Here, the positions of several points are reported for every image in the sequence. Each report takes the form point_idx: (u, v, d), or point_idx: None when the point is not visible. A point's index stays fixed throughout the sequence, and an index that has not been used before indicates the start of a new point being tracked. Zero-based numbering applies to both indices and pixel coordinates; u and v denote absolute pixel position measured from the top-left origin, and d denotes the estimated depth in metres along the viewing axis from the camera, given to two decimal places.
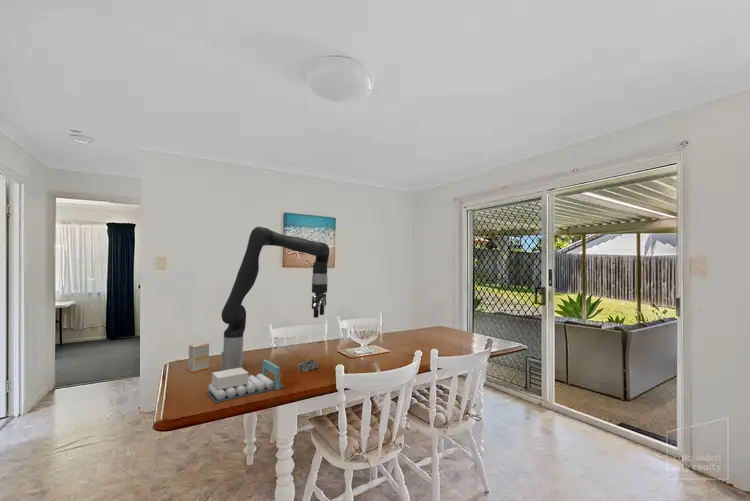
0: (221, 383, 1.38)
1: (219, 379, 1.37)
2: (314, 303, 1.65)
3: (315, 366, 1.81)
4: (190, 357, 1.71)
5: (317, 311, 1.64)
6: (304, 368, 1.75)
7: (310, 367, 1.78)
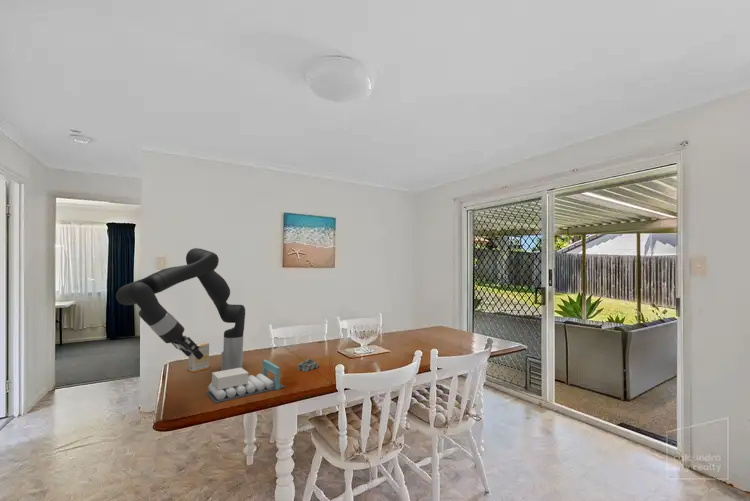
0: (221, 383, 1.38)
1: (219, 379, 1.37)
2: None
3: (314, 366, 1.81)
4: (190, 357, 1.71)
5: None
6: (304, 368, 1.76)
7: (310, 367, 1.78)
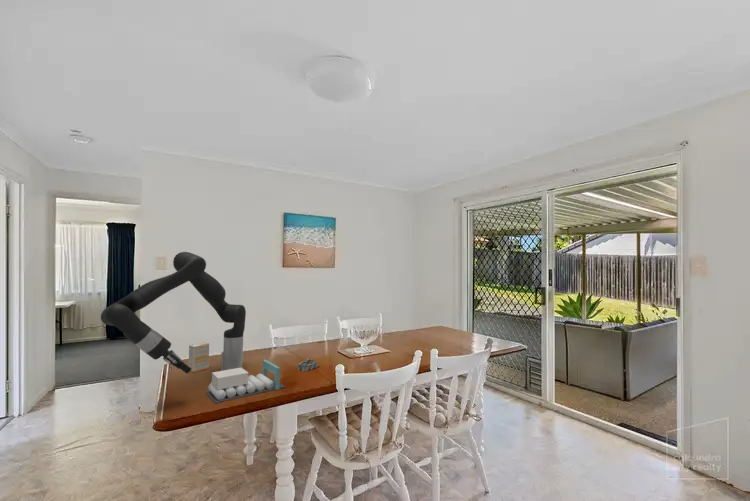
0: (221, 383, 1.38)
1: (219, 379, 1.37)
2: (177, 357, 1.34)
3: (314, 366, 1.82)
4: (190, 357, 1.71)
5: None
6: (304, 368, 1.76)
7: (309, 367, 1.79)
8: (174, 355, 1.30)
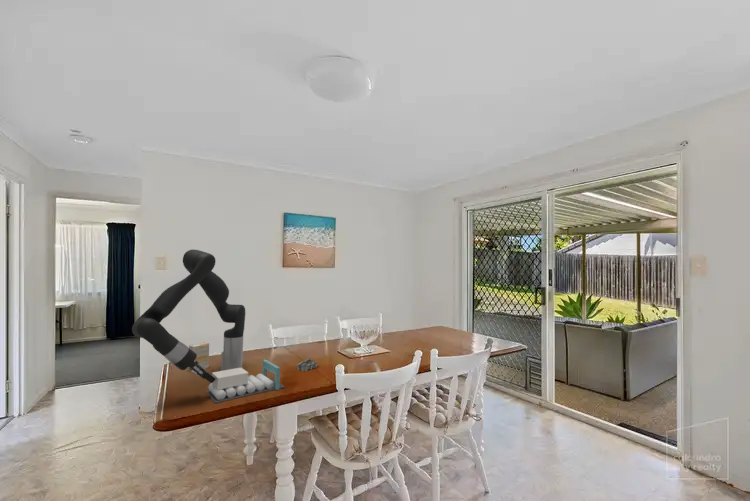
0: (221, 383, 1.38)
1: (219, 379, 1.37)
2: None
3: (314, 365, 1.82)
4: None
5: None
6: (303, 368, 1.76)
7: (309, 366, 1.79)
8: (200, 366, 1.35)
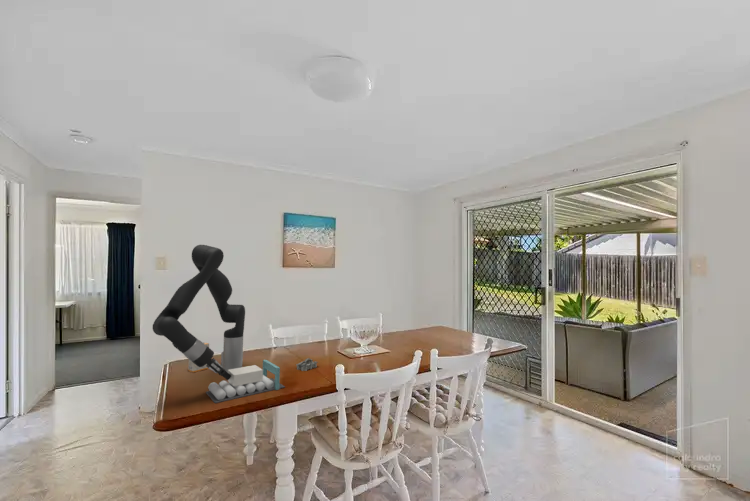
0: (237, 380, 1.42)
1: (235, 376, 1.41)
2: None
3: (314, 365, 1.82)
4: None
5: None
6: (303, 368, 1.76)
7: (309, 366, 1.79)
8: (216, 363, 1.39)
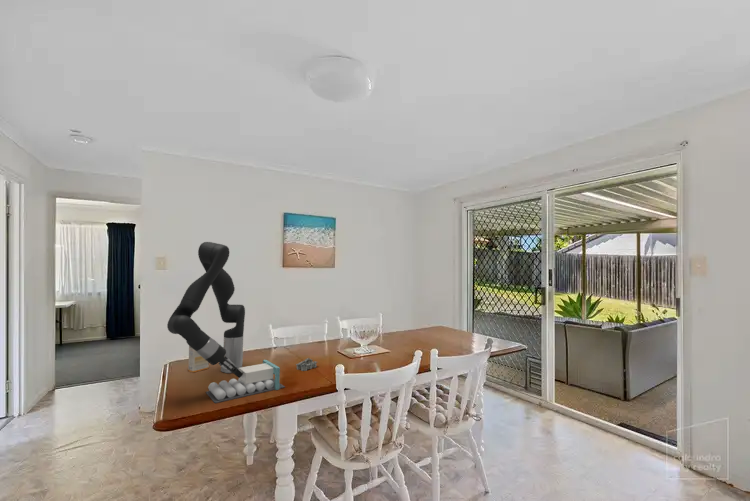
0: (249, 378, 1.45)
1: (247, 374, 1.44)
2: None
3: (313, 365, 1.82)
4: (190, 357, 1.71)
5: None
6: (303, 367, 1.76)
7: (308, 366, 1.79)
8: (229, 361, 1.42)
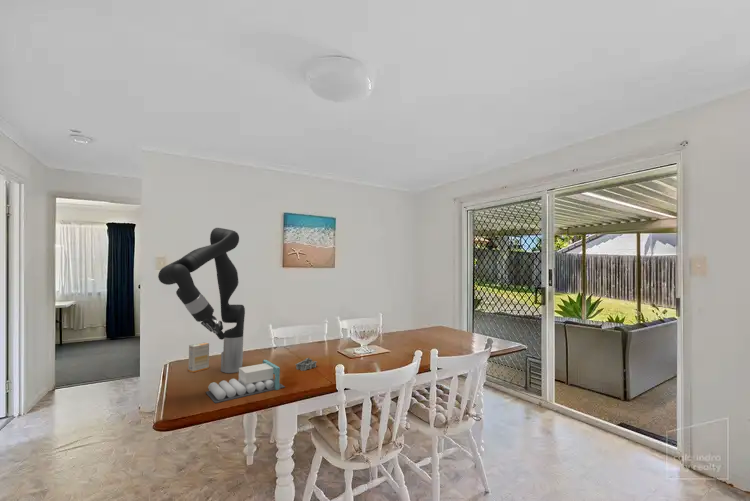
0: (249, 378, 1.45)
1: (247, 374, 1.44)
2: None
3: (313, 365, 1.82)
4: (190, 357, 1.71)
5: None
6: (302, 367, 1.77)
7: (308, 366, 1.80)
8: (215, 320, 1.40)
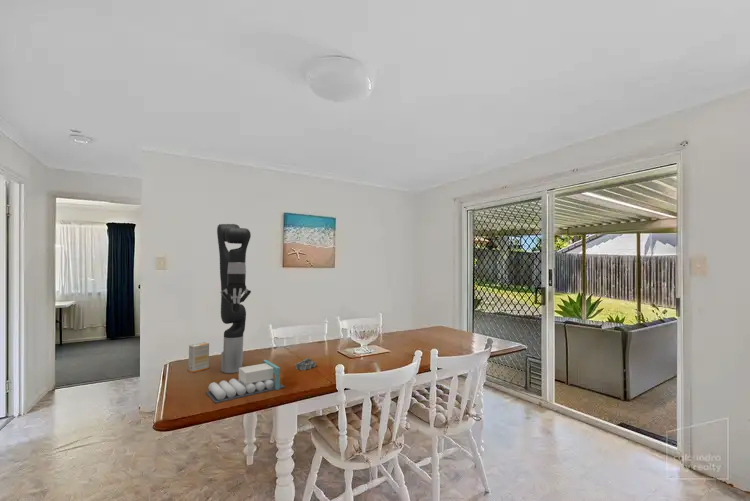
0: (249, 378, 1.45)
1: (247, 374, 1.44)
2: (231, 297, 1.52)
3: (312, 365, 1.83)
4: (190, 357, 1.71)
5: (234, 305, 1.51)
6: (302, 367, 1.77)
7: (308, 366, 1.80)
8: None
